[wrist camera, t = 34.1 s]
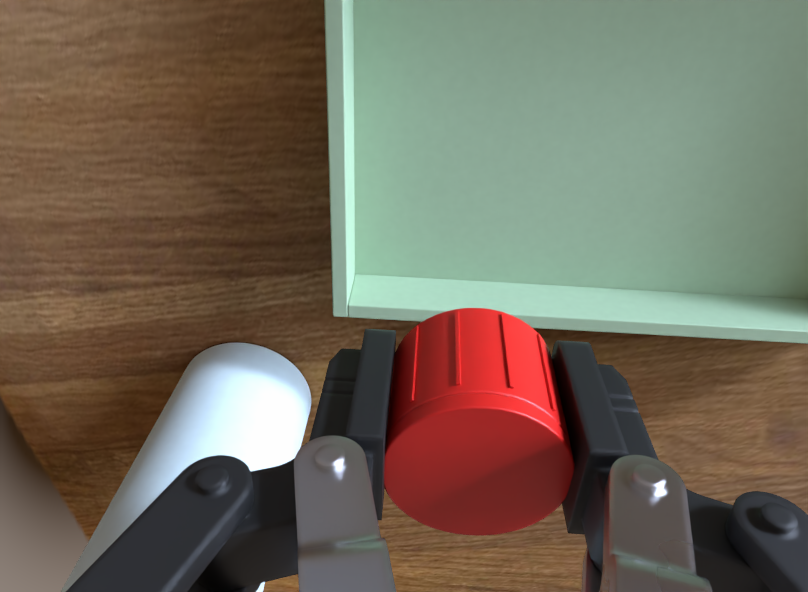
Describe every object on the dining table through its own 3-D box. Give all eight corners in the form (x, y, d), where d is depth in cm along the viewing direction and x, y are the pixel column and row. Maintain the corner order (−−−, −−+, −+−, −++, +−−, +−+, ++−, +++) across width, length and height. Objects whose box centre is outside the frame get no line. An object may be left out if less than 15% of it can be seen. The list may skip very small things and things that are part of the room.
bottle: (205, 444, 33) (-51, 1018, 16) (165, 347, 29) (-213, 940, 12) (322, 437, 32) (190, 1029, 15) (296, 336, 29) (86, 950, 12)
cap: (390, 422, 16) (379, 529, 13) (394, 301, 14) (381, 400, 11) (539, 432, 16) (557, 542, 13) (565, 311, 14) (594, 414, 11)
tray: (342, 279, 27) (332, 317, 24) (333, -233, 18) (316, -258, 15) (880, 309, 26) (928, 351, 24) (1150, -202, 17) (1274, -223, 15)
